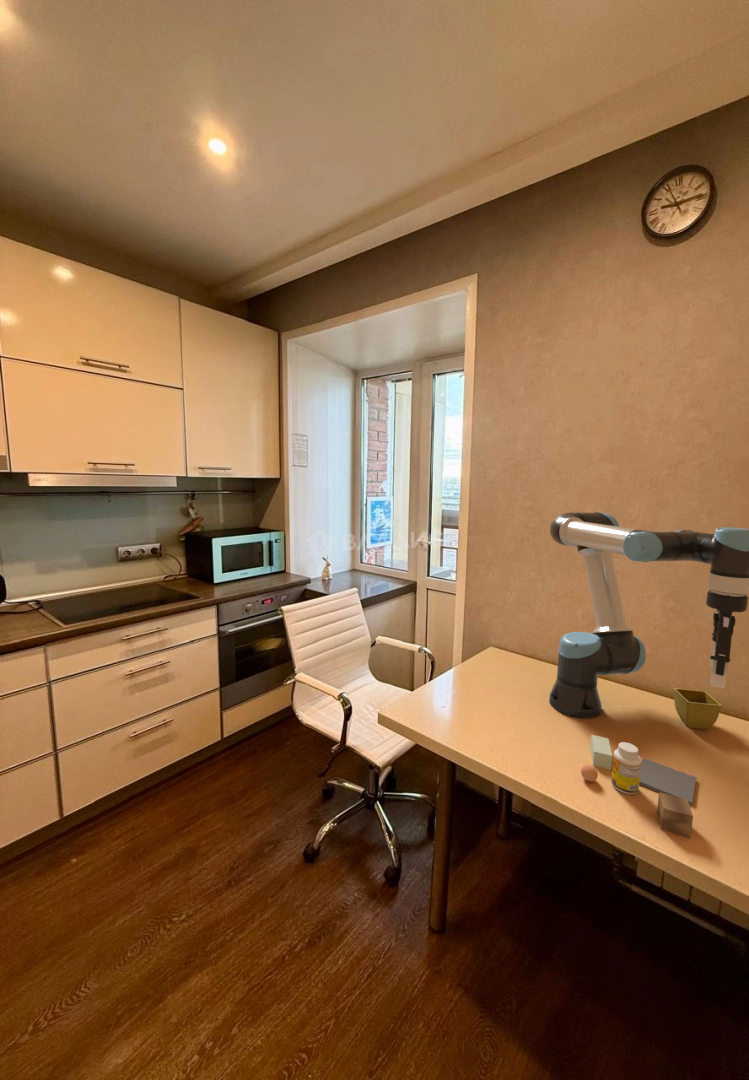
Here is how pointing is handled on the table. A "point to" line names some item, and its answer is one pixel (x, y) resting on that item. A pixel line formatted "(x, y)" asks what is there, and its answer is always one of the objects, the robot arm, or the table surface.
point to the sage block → (601, 752)
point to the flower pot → (696, 708)
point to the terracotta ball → (589, 773)
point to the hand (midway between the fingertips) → (716, 676)
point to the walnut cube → (674, 815)
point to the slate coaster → (667, 780)
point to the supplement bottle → (626, 768)
